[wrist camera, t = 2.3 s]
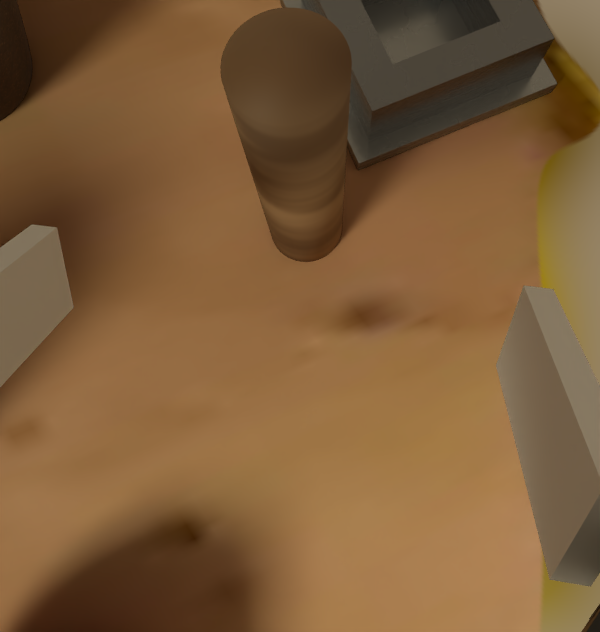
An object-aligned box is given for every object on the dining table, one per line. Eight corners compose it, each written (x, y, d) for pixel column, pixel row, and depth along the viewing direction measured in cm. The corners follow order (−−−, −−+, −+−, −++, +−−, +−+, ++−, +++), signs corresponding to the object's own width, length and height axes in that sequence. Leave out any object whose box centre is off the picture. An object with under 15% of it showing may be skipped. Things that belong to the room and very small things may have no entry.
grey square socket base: (280, 3, 33) (274, -50, 29) (460, -69, 33) (477, -131, 29) (358, 170, 30) (362, 135, 27) (551, 92, 31) (582, 46, 27)
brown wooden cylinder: (260, 209, 30) (202, 36, 17) (325, 183, 30) (321, -11, 17) (286, 272, 30) (247, 144, 16) (353, 245, 30) (373, 94, 16)
